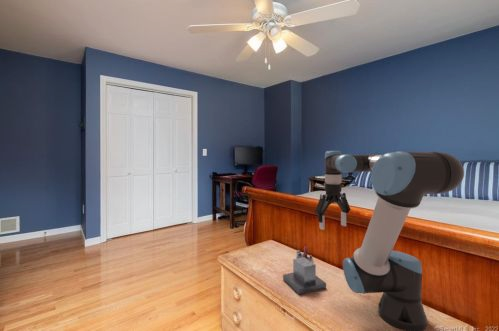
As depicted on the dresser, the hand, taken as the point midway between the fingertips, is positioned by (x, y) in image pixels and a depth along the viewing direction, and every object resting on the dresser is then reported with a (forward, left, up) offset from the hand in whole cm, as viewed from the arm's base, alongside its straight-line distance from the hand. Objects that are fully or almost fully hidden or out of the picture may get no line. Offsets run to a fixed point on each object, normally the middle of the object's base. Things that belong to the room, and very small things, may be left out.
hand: (333, 227), depth 117 cm
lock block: (+1, +16, -22) cm, 27 cm away
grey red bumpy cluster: (+17, +4, -25) cm, 31 cm away
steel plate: (+1, +16, -25) cm, 30 cm away
